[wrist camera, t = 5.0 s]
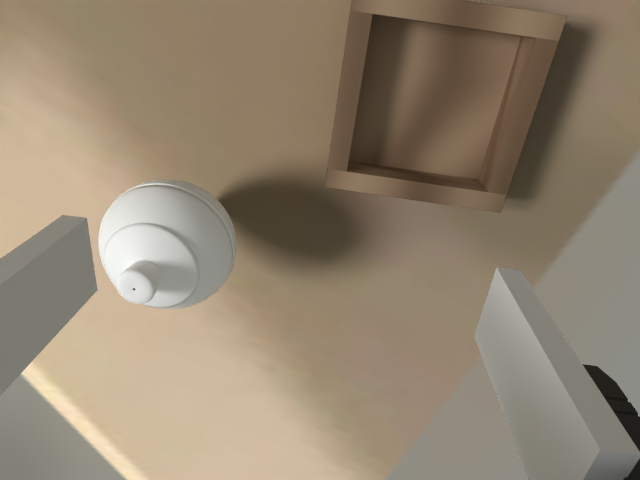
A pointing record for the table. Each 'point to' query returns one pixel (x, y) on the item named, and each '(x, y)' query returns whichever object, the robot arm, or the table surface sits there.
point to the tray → (438, 99)
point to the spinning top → (167, 244)
